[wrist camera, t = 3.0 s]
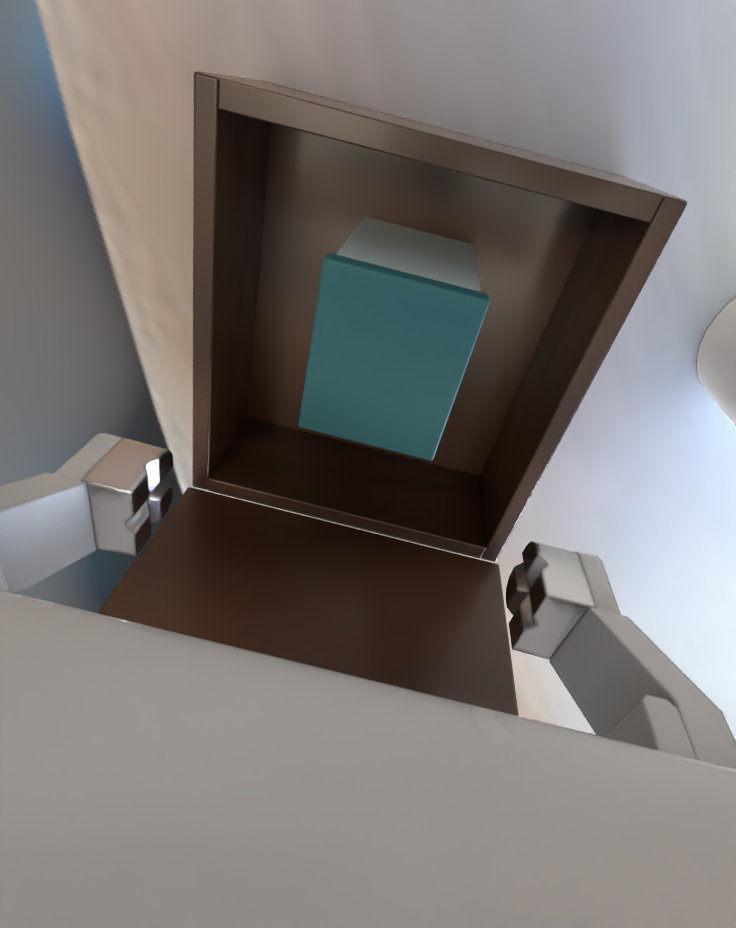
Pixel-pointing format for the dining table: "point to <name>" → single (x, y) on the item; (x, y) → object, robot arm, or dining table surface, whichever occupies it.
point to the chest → (422, 208)
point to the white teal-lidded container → (392, 337)
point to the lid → (324, 598)
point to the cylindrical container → (720, 360)
